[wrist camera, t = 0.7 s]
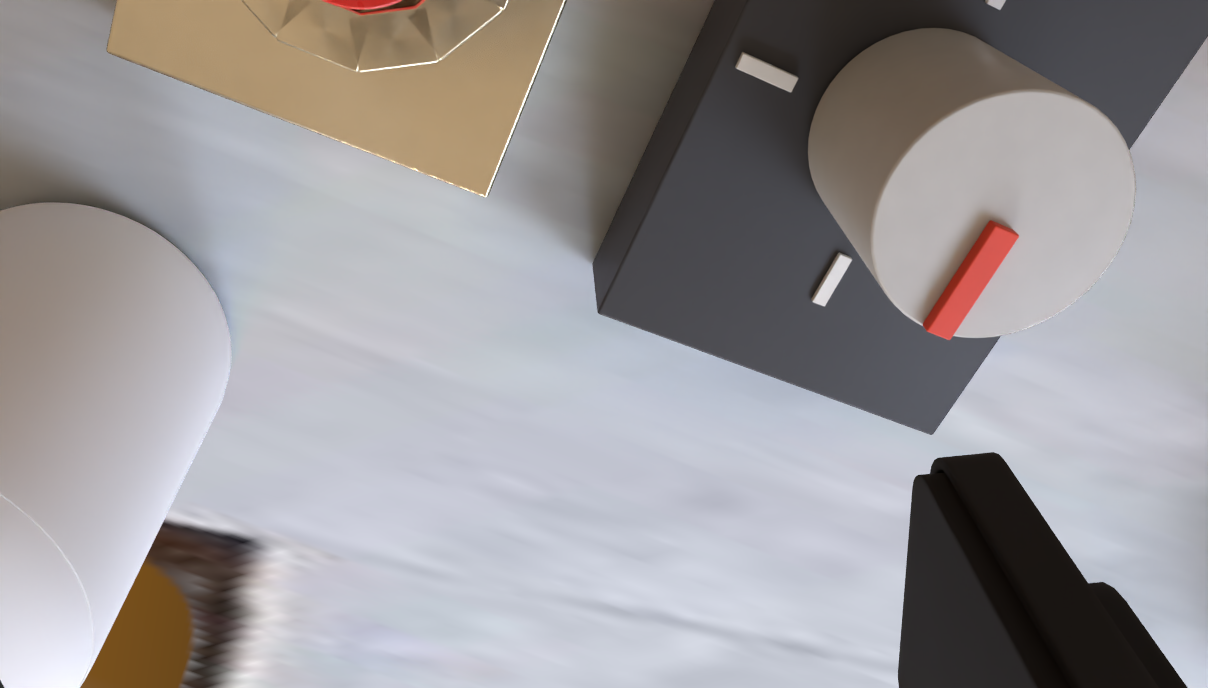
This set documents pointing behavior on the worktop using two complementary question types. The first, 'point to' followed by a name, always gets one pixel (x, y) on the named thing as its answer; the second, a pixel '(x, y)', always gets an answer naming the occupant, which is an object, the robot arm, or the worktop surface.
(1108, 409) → the worktop surface
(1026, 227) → the knob
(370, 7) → the button
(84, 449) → the pill bottle
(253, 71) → the button box
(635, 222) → the panel
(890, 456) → the worktop surface
